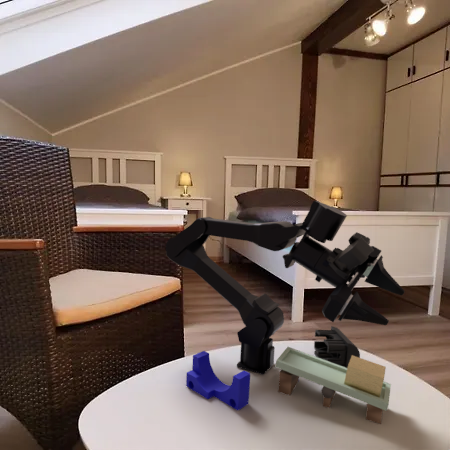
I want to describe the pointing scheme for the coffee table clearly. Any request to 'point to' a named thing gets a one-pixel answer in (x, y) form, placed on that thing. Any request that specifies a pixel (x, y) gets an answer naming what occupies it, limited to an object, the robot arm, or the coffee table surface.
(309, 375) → the green rimmed tray
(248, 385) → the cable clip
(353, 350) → the end cap
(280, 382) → the beam stand
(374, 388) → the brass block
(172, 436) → the coffee table surface
